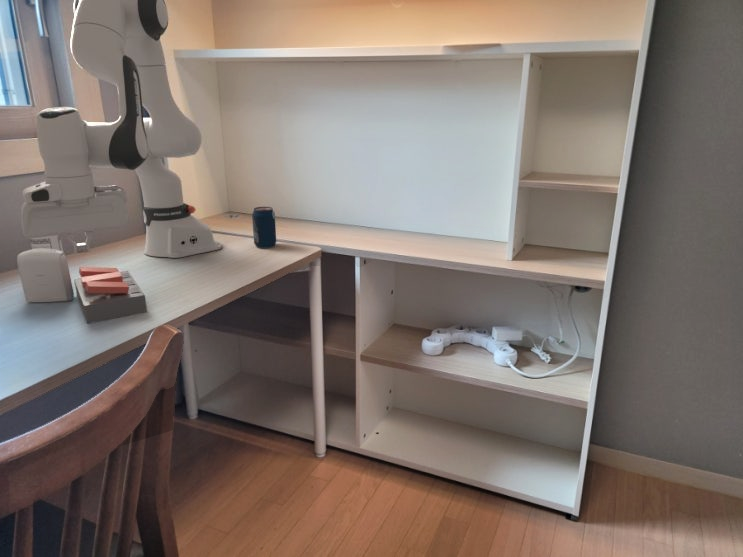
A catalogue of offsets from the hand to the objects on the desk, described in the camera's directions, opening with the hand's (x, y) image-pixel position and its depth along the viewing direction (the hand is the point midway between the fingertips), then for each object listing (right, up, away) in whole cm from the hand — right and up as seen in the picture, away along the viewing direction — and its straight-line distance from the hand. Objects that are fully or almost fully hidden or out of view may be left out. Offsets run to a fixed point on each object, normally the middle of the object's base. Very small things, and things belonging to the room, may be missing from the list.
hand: (82, 252), depth 119 cm
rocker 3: (+5, -9, 0) cm, 10 cm away
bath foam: (-20, -6, +23) cm, 31 cm away
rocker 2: (+2, -7, +5) cm, 9 cm away
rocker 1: (-1, -6, +10) cm, 11 cm away
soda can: (+29, +4, +54) cm, 61 cm away
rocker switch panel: (+3, -11, +7) cm, 14 cm away
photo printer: (-12, -11, +9) cm, 19 cm away
